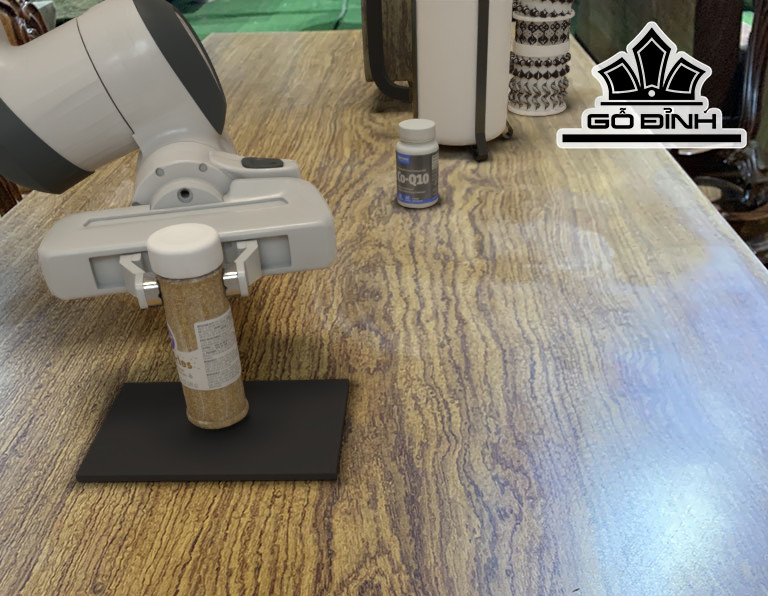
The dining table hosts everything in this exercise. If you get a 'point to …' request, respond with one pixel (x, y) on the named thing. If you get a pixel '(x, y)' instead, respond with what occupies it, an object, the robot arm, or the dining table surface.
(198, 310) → the sprinkles bottle
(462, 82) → the coffee press
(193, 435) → the mat
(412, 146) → the pill bottle
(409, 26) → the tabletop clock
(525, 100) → the decorative candle
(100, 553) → the dining table surface
